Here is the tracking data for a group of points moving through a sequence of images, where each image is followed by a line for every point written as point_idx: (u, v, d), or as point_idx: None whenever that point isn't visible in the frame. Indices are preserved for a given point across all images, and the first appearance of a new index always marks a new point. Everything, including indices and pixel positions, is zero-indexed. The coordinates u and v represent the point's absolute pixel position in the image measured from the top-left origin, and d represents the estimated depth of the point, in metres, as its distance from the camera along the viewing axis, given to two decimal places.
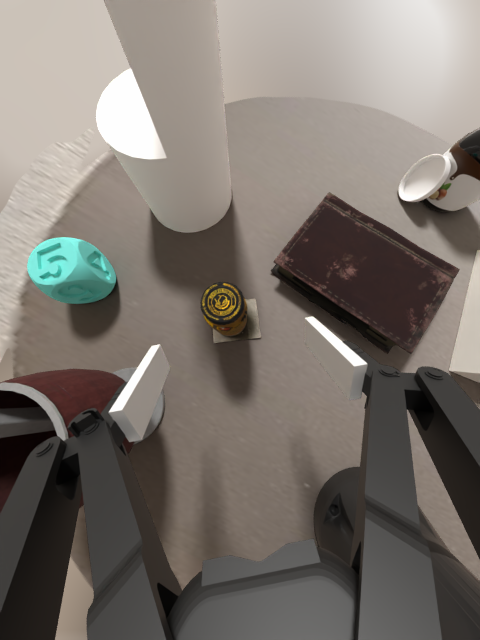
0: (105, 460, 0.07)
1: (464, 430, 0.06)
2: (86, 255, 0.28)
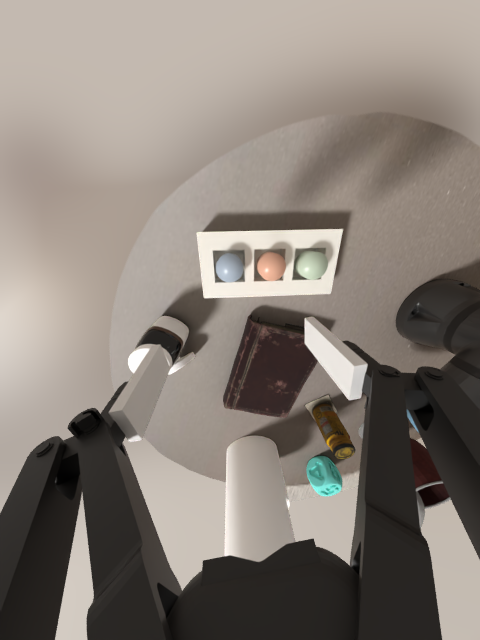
0: (105, 460, 0.07)
1: (464, 431, 0.06)
2: (319, 480, 0.57)
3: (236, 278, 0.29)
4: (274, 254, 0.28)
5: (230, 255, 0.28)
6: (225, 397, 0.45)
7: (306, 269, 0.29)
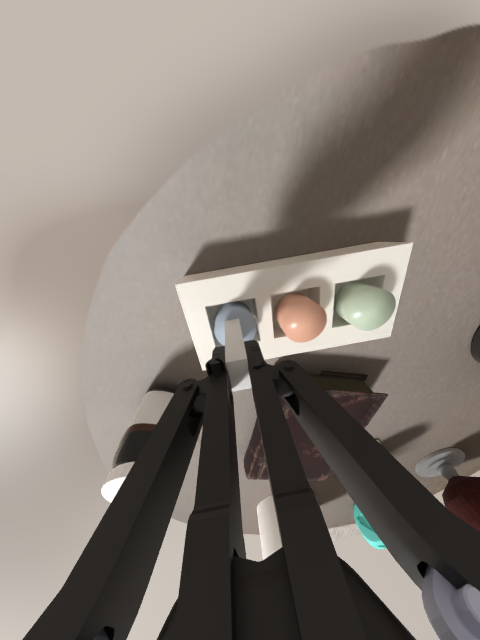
0: (220, 405, 0.09)
1: (317, 408, 0.08)
2: (374, 533, 0.47)
3: None
4: (307, 304, 0.17)
5: (234, 312, 0.18)
6: (247, 465, 0.35)
7: (360, 317, 0.18)
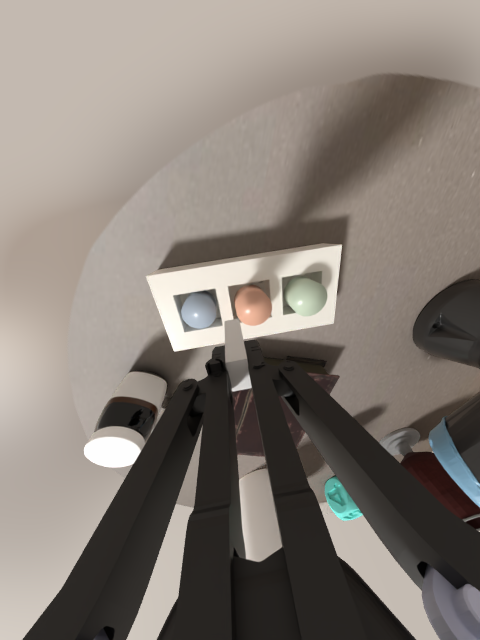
0: (220, 405, 0.09)
1: (317, 408, 0.08)
2: (340, 506, 0.52)
3: (209, 322, 0.24)
4: (254, 293, 0.21)
5: (196, 298, 0.22)
6: None
7: (299, 305, 0.22)
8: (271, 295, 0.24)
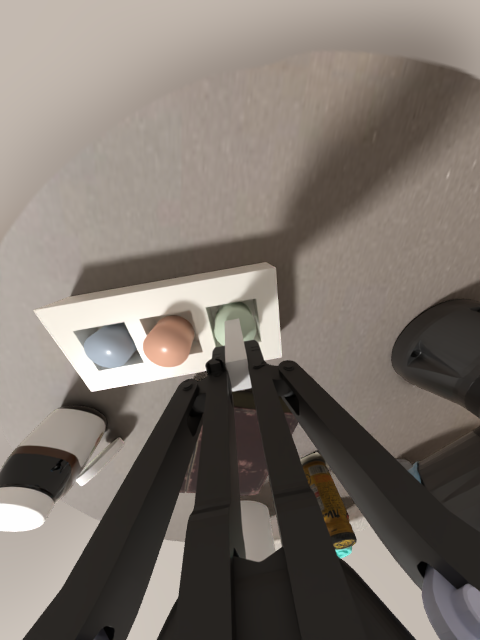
0: (220, 405, 0.09)
1: (317, 408, 0.08)
2: None
3: (123, 361, 0.20)
4: (161, 331, 0.17)
5: (100, 335, 0.18)
6: None
7: (224, 337, 0.19)
8: (197, 328, 0.19)
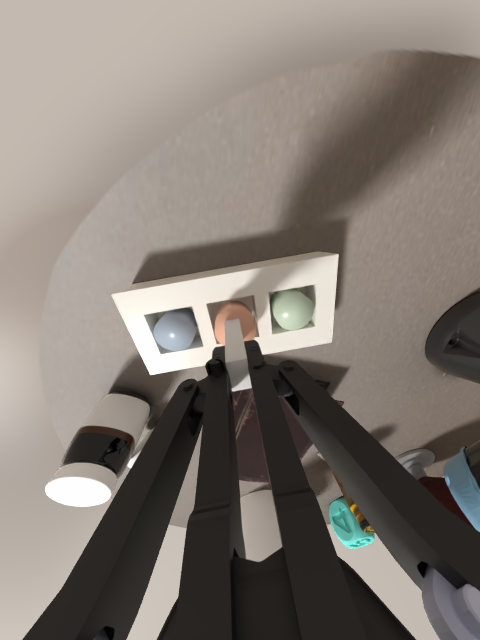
0: (220, 405, 0.09)
1: (317, 408, 0.08)
2: (346, 533, 0.48)
3: (187, 344, 0.21)
4: (234, 313, 0.18)
5: (170, 318, 0.19)
6: None
7: (284, 318, 0.20)
8: (257, 312, 0.20)
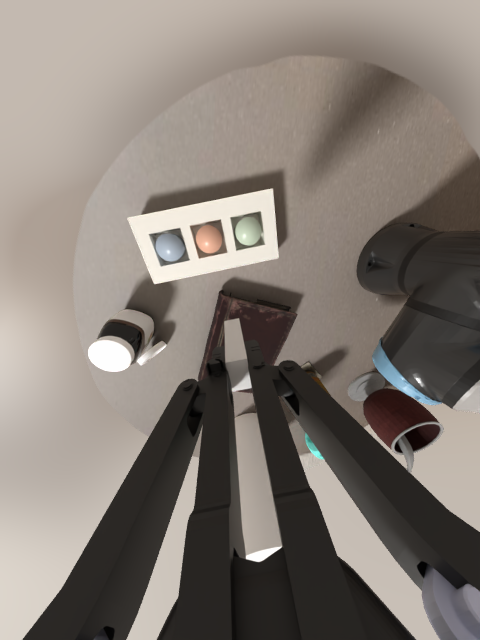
0: (220, 405, 0.09)
1: (317, 408, 0.08)
2: None
3: (178, 256, 0.31)
4: (207, 226, 0.29)
5: (166, 234, 0.29)
6: (199, 375, 0.46)
7: (241, 236, 0.31)
8: (224, 233, 0.31)
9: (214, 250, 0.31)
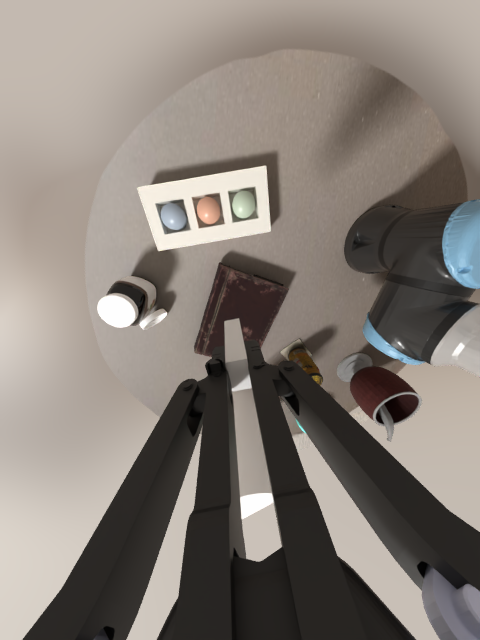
0: (220, 405, 0.09)
1: (317, 408, 0.08)
2: None
3: (180, 224, 0.35)
4: (207, 198, 0.33)
5: (170, 204, 0.33)
6: (196, 343, 0.49)
7: (237, 208, 0.34)
8: (222, 205, 0.35)
9: (213, 220, 0.35)
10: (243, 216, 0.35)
